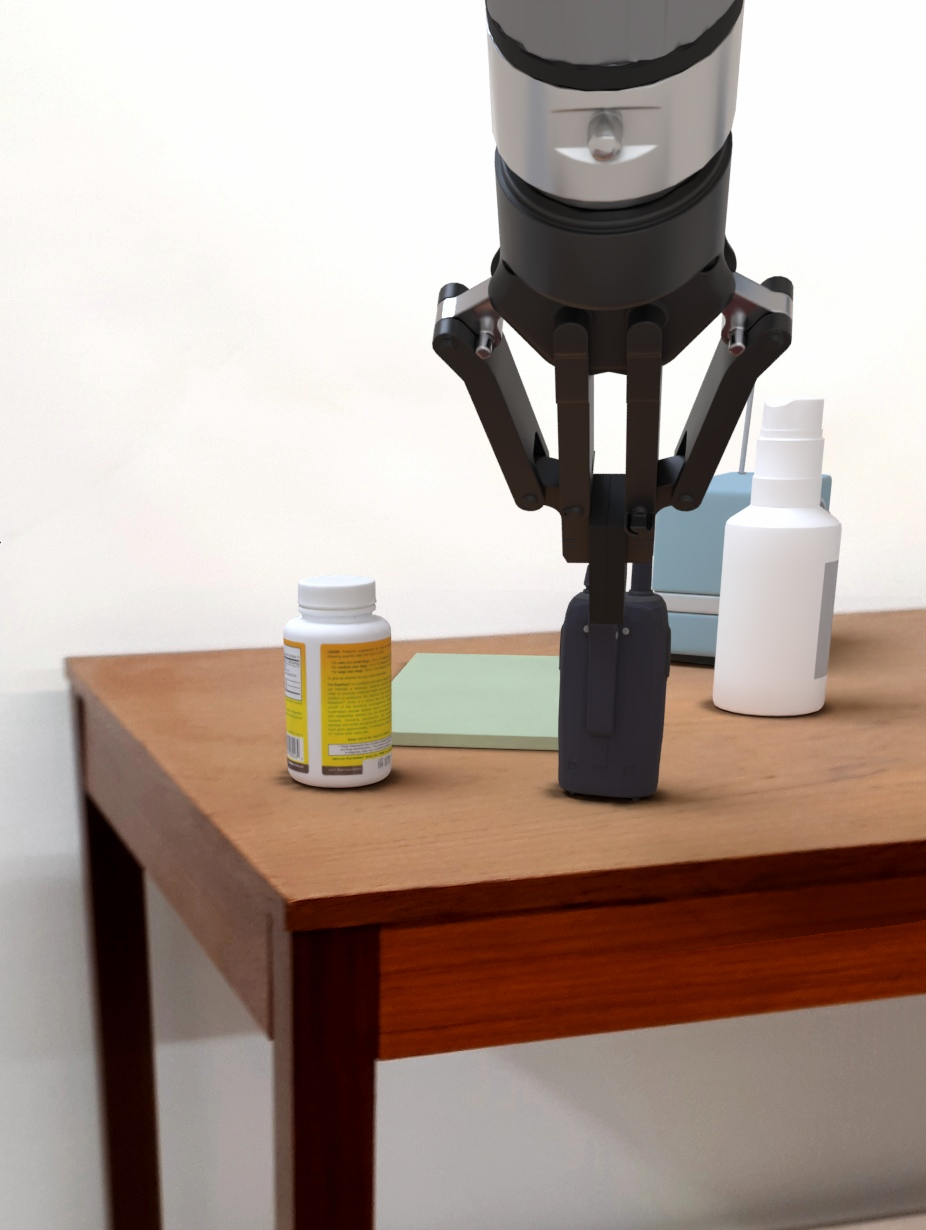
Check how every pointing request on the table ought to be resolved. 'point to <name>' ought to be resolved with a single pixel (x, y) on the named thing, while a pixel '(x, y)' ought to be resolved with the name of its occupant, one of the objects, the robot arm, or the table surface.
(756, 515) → the spray bottle
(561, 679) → the two-way radio
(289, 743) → the supplement bottle
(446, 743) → the mat
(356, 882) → the table surface
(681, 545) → the radio
